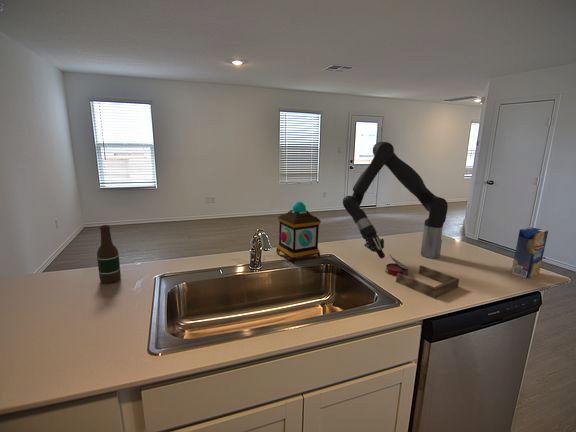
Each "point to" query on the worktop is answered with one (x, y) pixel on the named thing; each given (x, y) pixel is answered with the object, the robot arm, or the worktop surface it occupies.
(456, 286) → the box
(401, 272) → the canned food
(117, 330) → the worktop surface
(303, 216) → the decorative lantern
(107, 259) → the beer bottle
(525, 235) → the beverage box
